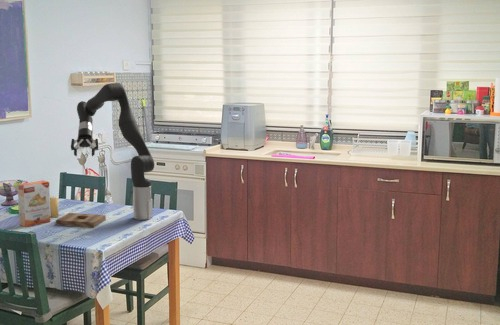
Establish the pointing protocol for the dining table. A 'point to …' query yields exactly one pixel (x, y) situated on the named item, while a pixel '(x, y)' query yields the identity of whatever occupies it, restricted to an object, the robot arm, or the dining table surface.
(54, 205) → the ochre peg
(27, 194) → the cracker box
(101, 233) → the dining table surface
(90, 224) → the walnut pocket board
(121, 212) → the dining table surface
